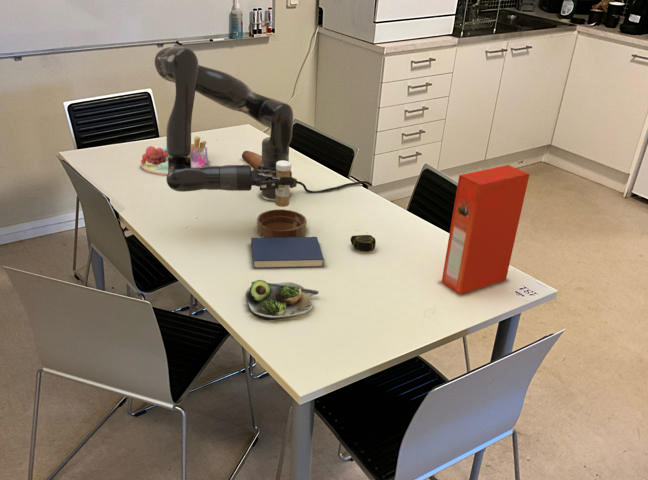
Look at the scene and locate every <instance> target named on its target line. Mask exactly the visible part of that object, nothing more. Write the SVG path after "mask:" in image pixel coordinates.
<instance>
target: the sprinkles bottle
mask: <svg viewBox="0 0 648 480" xmlns="http://www.w3.org/2000/svg"><path fill="white" fill-rule="evenodd" d="M276 170H277V171H276V177H280V178H281V177H290V171H291V172H292V162H291V161H290V160H289V161H284V160H282V161H278V162H277V163H276ZM275 194H276V197H275V201H274V204H275V206H276V207H280V208H285V207H288V206H290V196H291V188H290V185H281V186H279V188H278V189H276V192H275Z"/></svg>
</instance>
